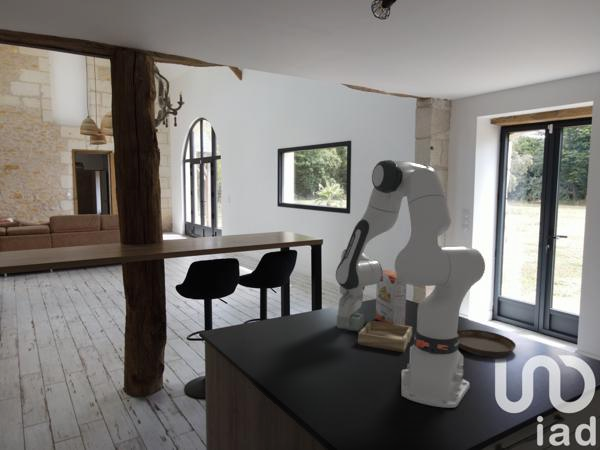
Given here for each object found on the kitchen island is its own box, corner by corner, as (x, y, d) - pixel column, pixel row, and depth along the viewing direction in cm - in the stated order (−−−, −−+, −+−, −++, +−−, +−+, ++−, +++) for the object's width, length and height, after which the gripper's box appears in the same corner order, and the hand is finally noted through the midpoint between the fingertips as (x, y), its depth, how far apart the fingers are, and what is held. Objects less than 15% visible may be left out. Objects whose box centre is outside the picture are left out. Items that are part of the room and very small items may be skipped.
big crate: (403, 352, 141) (404, 340, 141) (357, 344, 148) (358, 333, 148) (411, 337, 156) (412, 326, 156) (369, 330, 162) (370, 320, 162)
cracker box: (374, 318, 177) (376, 270, 175) (387, 317, 179) (388, 269, 177) (392, 329, 164) (394, 277, 162) (405, 328, 166) (407, 276, 164)
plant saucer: (518, 345, 150) (519, 336, 150) (510, 365, 133) (511, 355, 132) (458, 333, 161) (459, 325, 161) (444, 350, 144) (444, 341, 144)
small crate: (358, 331, 161) (359, 318, 161) (336, 327, 165) (337, 315, 164) (363, 326, 167) (363, 314, 166) (341, 323, 170) (342, 311, 170)
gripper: (350, 295, 154) (349, 332, 155) (365, 284, 172) (365, 317, 173) (334, 293, 156) (333, 329, 158) (351, 282, 175) (350, 315, 176)
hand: (350, 323), depth 166 cm, fingers closed on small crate, 6 cm apart
